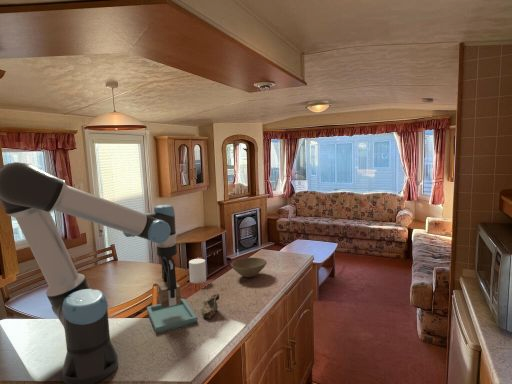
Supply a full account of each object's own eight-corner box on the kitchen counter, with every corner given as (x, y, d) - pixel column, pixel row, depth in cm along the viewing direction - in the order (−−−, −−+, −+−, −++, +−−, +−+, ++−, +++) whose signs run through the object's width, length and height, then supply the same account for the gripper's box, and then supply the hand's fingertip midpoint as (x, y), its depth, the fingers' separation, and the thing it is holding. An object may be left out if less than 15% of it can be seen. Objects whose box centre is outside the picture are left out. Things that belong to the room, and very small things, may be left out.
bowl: (233, 270, 183) (233, 256, 182) (267, 270, 183) (266, 256, 182) (229, 283, 165) (229, 268, 164) (267, 283, 164) (266, 267, 163)
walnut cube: (180, 303, 130) (179, 286, 130) (162, 307, 127) (161, 290, 126) (176, 297, 137) (175, 280, 136) (159, 300, 133) (158, 284, 133)
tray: (197, 322, 128) (197, 317, 127) (156, 333, 121) (155, 327, 120) (183, 303, 145) (183, 298, 144) (147, 311, 138) (146, 306, 137)
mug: (192, 264, 164) (184, 258, 174) (193, 284, 165) (185, 277, 175) (207, 261, 168) (198, 255, 178) (208, 281, 169) (199, 274, 179)
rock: (227, 314, 131) (224, 291, 138) (211, 311, 127) (209, 287, 134) (214, 324, 135) (212, 301, 142) (199, 321, 131) (197, 298, 138)
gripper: (182, 249, 122) (186, 308, 125) (170, 238, 140) (173, 290, 142) (162, 252, 119) (166, 313, 121) (152, 240, 136) (155, 294, 139)
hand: (170, 301), depth 132 cm, fingers closed on walnut cube, 7 cm apart
